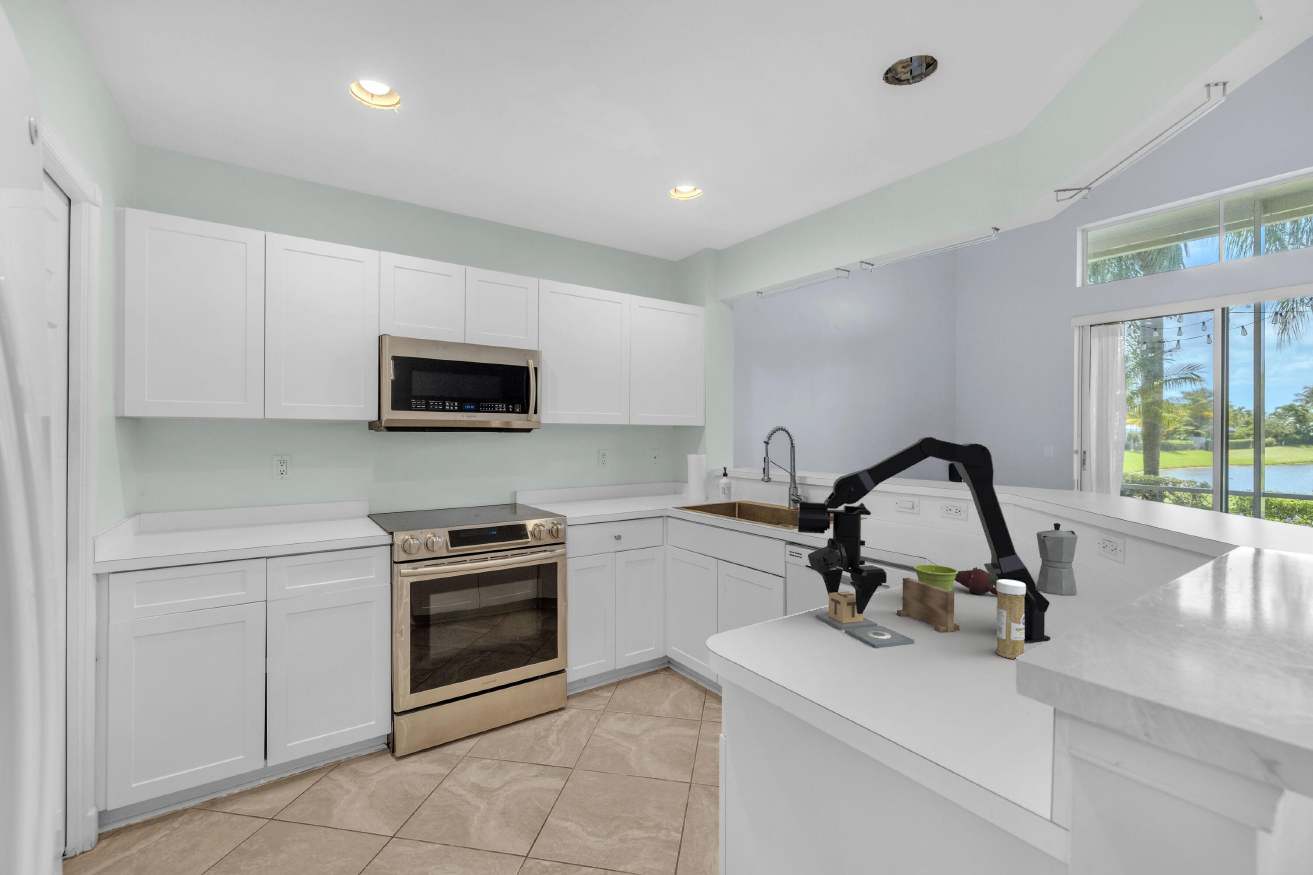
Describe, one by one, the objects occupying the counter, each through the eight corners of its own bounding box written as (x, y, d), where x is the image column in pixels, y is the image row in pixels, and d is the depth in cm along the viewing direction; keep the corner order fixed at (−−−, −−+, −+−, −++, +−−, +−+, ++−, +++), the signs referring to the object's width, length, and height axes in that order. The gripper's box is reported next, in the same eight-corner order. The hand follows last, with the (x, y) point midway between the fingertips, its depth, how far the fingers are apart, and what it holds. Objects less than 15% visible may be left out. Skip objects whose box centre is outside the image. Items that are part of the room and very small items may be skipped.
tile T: (877, 626, 121) (877, 623, 121) (840, 630, 118) (840, 626, 118) (849, 613, 129) (849, 610, 129) (815, 617, 127) (815, 614, 127)
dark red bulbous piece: (939, 566, 151) (1005, 581, 141) (949, 555, 156) (1012, 569, 146) (939, 590, 153) (1003, 607, 142) (948, 579, 158) (1011, 594, 148)
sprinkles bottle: (1025, 661, 102) (1026, 585, 102) (995, 656, 104) (996, 582, 105) (1024, 653, 106) (1024, 580, 106) (995, 648, 108) (996, 577, 109)
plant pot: (965, 611, 133) (965, 573, 133) (924, 610, 133) (924, 572, 133) (945, 600, 142) (946, 564, 142) (907, 599, 142) (907, 564, 142)
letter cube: (863, 621, 122) (863, 597, 122) (842, 623, 120) (843, 598, 120) (848, 614, 127) (848, 591, 127) (828, 616, 125) (828, 592, 125)
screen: (960, 630, 119) (961, 591, 119) (941, 632, 117) (941, 593, 117) (913, 612, 131) (914, 577, 131) (895, 614, 130) (896, 578, 130)
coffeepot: (1062, 598, 145) (1062, 526, 145) (1023, 589, 154) (1024, 522, 154) (1094, 591, 153) (1094, 523, 153) (1055, 583, 161) (1056, 519, 161)
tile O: (914, 643, 111) (914, 639, 111) (875, 647, 108) (875, 644, 108) (882, 628, 119) (882, 625, 119) (845, 632, 117) (845, 628, 117)
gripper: (790, 529, 130) (789, 598, 130) (841, 543, 112) (840, 624, 112) (832, 527, 134) (831, 595, 134) (888, 541, 116) (888, 619, 116)
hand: (845, 607), depth 124 cm, fingers open, 9 cm apart
